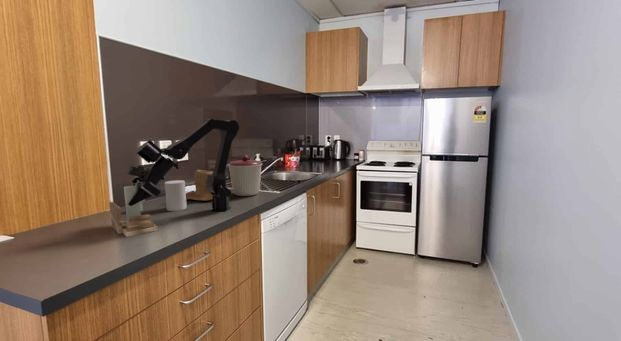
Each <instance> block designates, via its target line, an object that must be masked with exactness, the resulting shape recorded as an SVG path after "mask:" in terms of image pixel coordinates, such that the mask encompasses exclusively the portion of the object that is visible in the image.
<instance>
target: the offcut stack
mask: <svg viewBox="0 0 621 341" xmlns="http://www.w3.org/2000/svg"><path fill="white" fill-rule="evenodd" d="M129 219H130V221H127V220H125V221H126V225H125V226H126V228H125V229H126V230H127V231H128V232H131V231H136V230H141V229H146V228H151V227H154V224H155V223H154V222H153V221H152V215H150V214H149V213H147V214H141V215H140V216H135V217H129ZM125 226H124V227H125Z"/></svg>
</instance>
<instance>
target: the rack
mask: <svg viewBox="0 0 621 341" xmlns="http://www.w3.org/2000/svg"><path fill="white" fill-rule="evenodd" d="M108 204H109V214H110V222H111V224H110V226H111V227H112V229H113V230H114V231H115V232H116V233H117V234H118V235H121V234H123V235H124V236H125V237H126V238H129V237H133V236H136V235H137V236H138V235H141V234H142V235H143V234H146V233H147V234H149V233H151V232H157V231H159V226H158V225H157V224H155V223H154V227H151V228H146V229H141V230H136V231H131V232H128V231H127V230H126V226H125V225H126V221H127V220H124V221H122V220H123V219H122V209H121V206H119V205H118V204H117V203H115V202H114V201H109V202H108ZM123 227H125V228H123Z"/></svg>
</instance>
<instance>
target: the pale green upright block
mask: <svg viewBox="0 0 621 341" xmlns="http://www.w3.org/2000/svg"><path fill="white" fill-rule="evenodd" d="M123 191H124V192H123V194H124V203H125V204H124V205H125V213H126V214H125V215H126V221H130V219H129V217H135V216H140V215H142V213H141V212H142V211H140V202H138V203H136V204H134V205H132V206H130V205H128V204H129V202H130V201H131V199H132V198H133V196H134V195H135V193H136V192H137V185H134V186H132V185H127V186H123Z"/></svg>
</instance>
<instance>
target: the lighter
mask: <svg viewBox="0 0 621 341" xmlns="http://www.w3.org/2000/svg"><path fill="white" fill-rule="evenodd" d="M143 202H146V199H144V200H142V201H140V211H141V212H144V211H143V210H144V209H143V208H144V207H143Z"/></svg>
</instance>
